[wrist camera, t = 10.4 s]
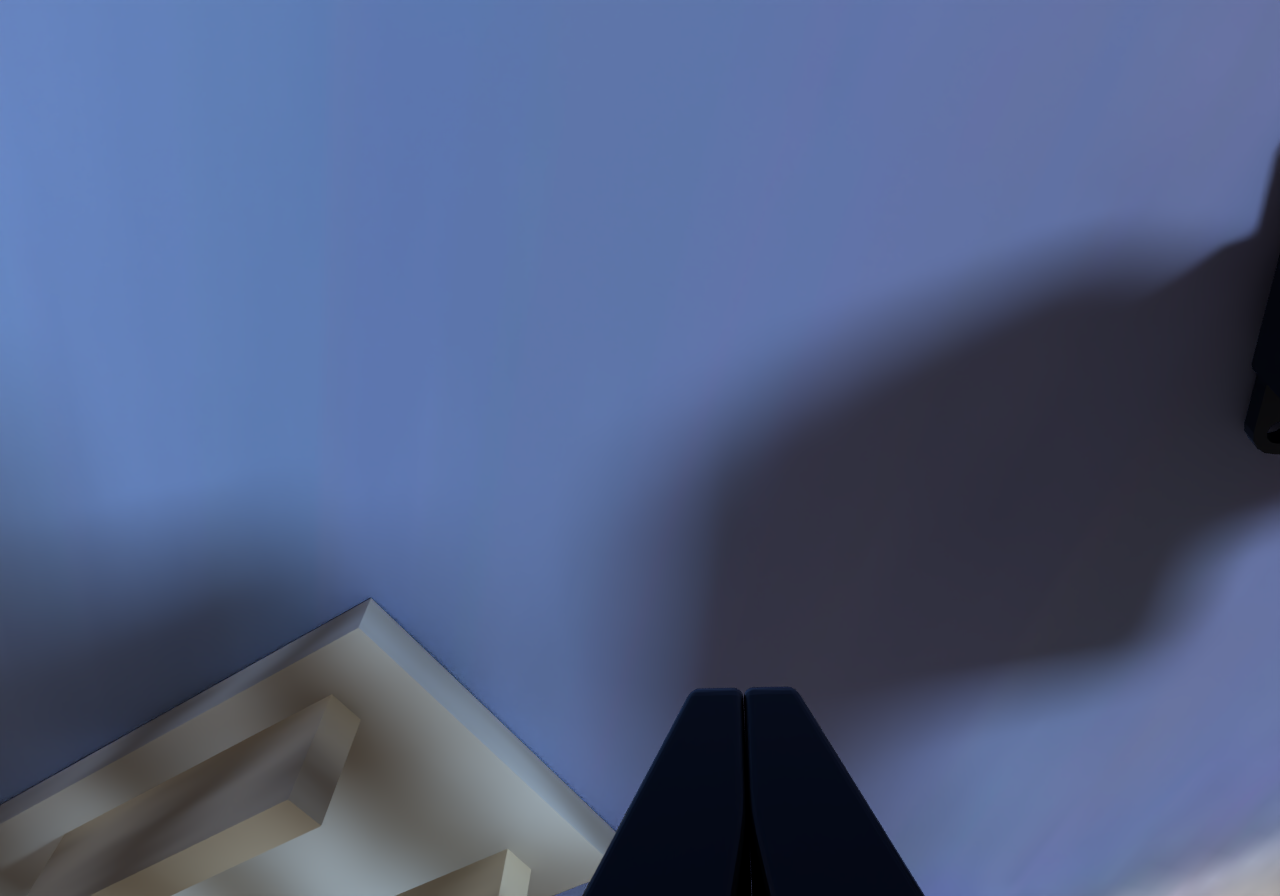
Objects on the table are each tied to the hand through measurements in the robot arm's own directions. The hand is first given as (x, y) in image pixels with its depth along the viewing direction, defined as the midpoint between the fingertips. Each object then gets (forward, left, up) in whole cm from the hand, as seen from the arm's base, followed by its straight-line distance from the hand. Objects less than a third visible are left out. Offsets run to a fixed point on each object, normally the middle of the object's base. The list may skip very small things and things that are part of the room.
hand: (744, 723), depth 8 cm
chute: (+14, +18, -12) cm, 25 cm away
